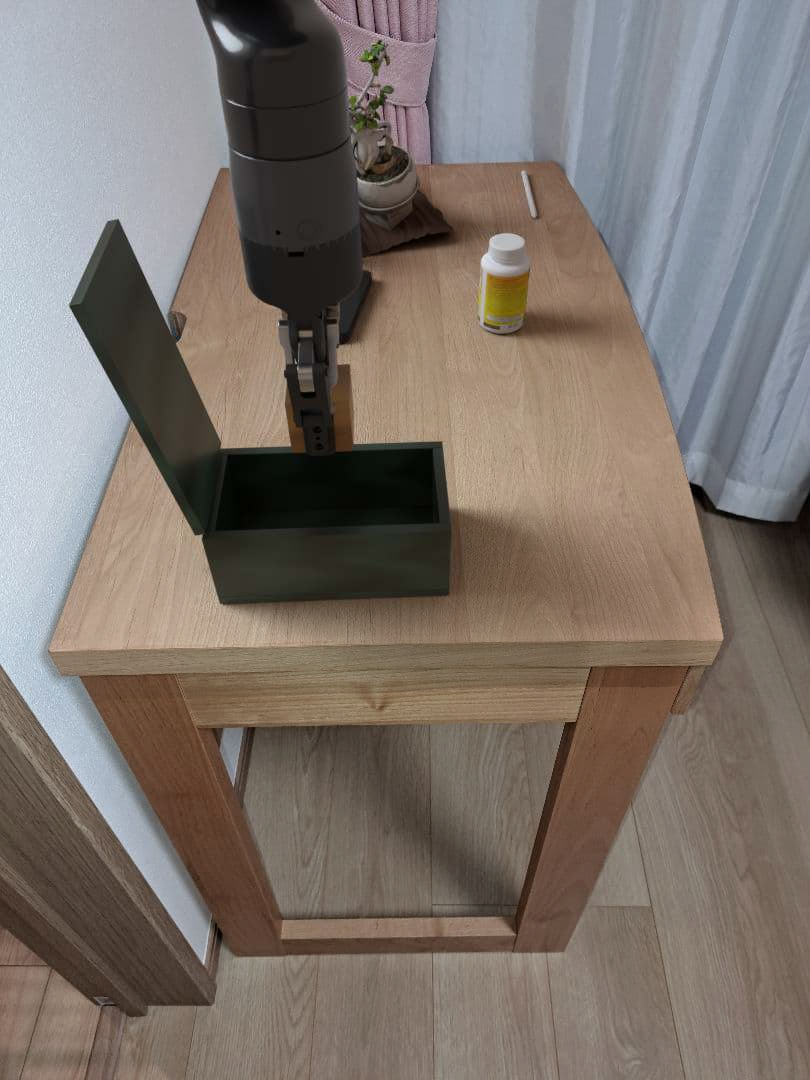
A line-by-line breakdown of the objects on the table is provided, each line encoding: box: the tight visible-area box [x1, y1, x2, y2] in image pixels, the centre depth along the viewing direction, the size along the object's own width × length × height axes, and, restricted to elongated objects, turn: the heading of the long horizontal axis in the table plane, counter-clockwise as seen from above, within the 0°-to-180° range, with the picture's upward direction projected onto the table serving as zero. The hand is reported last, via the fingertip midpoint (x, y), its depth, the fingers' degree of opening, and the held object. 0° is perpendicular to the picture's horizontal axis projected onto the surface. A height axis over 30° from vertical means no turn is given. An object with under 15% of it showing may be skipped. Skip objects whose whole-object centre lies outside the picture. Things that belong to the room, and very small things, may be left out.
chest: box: [201, 440, 453, 605], centre depth 70 cm, size 19×11×8 cm, turn 92°
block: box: [284, 363, 355, 453], centre depth 61 cm, size 5×5×5 cm
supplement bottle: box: [477, 232, 531, 335], centre depth 94 cm, size 6×6×10 cm
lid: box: [68, 218, 222, 537], centre depth 59 cm, size 20×11×1 cm
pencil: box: [520, 169, 538, 219], centre depth 121 cm, size 1×1×15 cm
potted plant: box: [348, 38, 457, 258], centre depth 108 cm, size 20×19×25 cm
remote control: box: [339, 269, 374, 344], centre depth 100 cm, size 5×2×15 cm
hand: (322, 429), depth 63 cm, fingers closed on block, 4 cm apart
